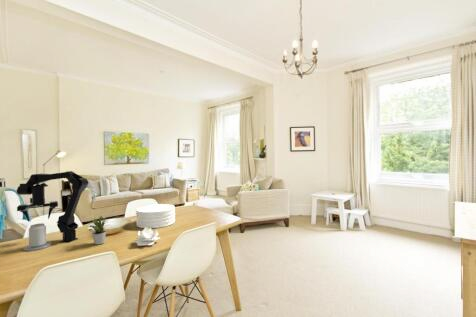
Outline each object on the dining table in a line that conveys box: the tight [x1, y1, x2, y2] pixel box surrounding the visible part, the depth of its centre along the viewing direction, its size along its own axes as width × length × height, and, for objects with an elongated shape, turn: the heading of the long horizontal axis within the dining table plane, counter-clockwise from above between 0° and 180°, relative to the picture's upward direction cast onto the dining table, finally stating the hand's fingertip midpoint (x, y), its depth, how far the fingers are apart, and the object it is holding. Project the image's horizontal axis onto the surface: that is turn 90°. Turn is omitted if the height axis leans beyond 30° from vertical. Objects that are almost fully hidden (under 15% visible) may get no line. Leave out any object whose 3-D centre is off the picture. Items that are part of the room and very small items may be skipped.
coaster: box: [23, 241, 52, 252], centre depth 134 cm, size 12×12×1 cm
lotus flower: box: [133, 227, 161, 247], centre depth 139 cm, size 14×15×9 cm
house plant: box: [85, 215, 110, 245], centre depth 140 cm, size 14×14×16 cm
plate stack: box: [135, 203, 176, 229], centre depth 181 cm, size 28×28×12 cm
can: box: [28, 222, 47, 248], centre depth 134 cm, size 8×8×12 cm
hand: (38, 220), depth 143 cm, fingers open, 9 cm apart
